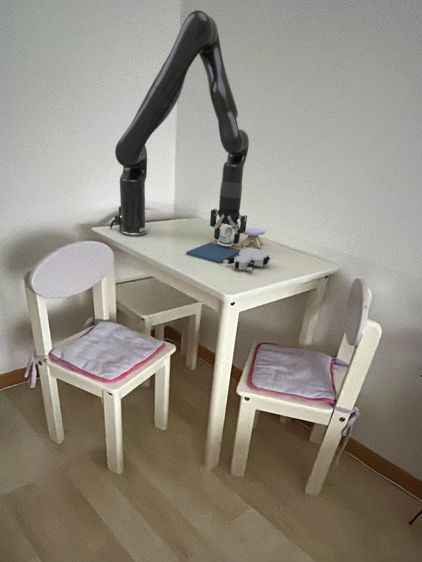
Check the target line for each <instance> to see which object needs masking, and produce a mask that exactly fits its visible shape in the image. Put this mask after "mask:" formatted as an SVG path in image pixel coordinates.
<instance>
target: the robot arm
mask: <svg viewBox="0 0 422 562" xmlns="http://www.w3.org/2000/svg"><path fill="white" fill-rule="evenodd" d="M222 53H223V52H222V48H221V42H220V35H219V29H218V25H217V23H216V21H215V20H214V19H213V18H212V16H210V15H208V13H206V12H205V11H203V10H199V9H196V10H192V11H191V12H190V13H189V14H188V15H187V16H186V17H185V19H184V20H183V23H182V24H181V28H180V29H179V32H178V34H177V36H176V39H175V41H174V43H173V46H172V48H171V50H170V52H169V54H168V55H167V57H166V59H165V61H164V62H163V64H162V66H161V68H160V69H159V72H157V75H156V76H155V77H154V80H153V81H152V83H151V85H150V87H149V89H148V91H147V92H146V94H145V96H144V97H143V100H142V102H141V104H140V106H139V108H138V109H137V112H136V113H135V116H134V117H133V119H132V121H131V123H130V124H129V126H128V127H127V128H126V130H125V132H124V133H123V134H122V136H121V137H120V138H119V140H118V141H117V142H116V145H115V150H114V155H115V159H116V161H117V163H118V164H119V165H121V166H122V173H121V175H120V177H119V198H120V199H119V201H120V205H119V206H118V214H116V215H114V219H112V221H111V222H110V225H109V228H110V229H112V228H113V225H114V224H116V225H119V227H118V228H119V232H120V233H121V234H122V235H126V236H129V237H141V236H144V235H146V231H147V230H146V180H147V175H148V151H147V147H146V144H147V142H148V140H149V139H150V137H151V136H152V135H153V133H154V132H155V131H156V130H157V129H158V128H159V127H160V126H161V125H162V124H163V123H164V122H165V121H166V120H167V118H168V117H169V115H170V114H171V112H172V111H173V110H174V108H175V106H176V105H177V103H178V101H179V99H180V96H181V94H182V91H183V88H184V84H185V82H186V81H185V80H186V76H187V74H188V72H189V69H190V67H191V66H192V64H193V63H194V61H195V59H196V58H197V56H199V58H200V60H201V62H202V64H203V68H204V70H205V74H206V79H207V86H208V92H209V97H210V101H211V104H212V108H213V111H214V114H215V117H216V119H217V125H218V132H219V133H218V134H219V139H220V143H221V146H222V148H223V150H224V151H225V152H226V153H227V159H226V161H225V162H224V163H223V166H222V174H221V175H222V176H221V183H220V189H219V201H218V207H219V209H217V208H213V209H211V210H210V219H209V227H212V228H213V229H214V233H213V234H214V235H213V237H214V241H215V240H216V241H219V236H221V227H222V225H227V226H231V228H232V230H233V232H234V234H233V241H234V242H233V243H232V245H237V244H238V243H239V242H240V237H241V234H243V233H244V232H245V230H246V229H247V221H248V216H247V215H246V214H245V215H242V214H240V209H241V203H242V193H243V176H244V166H245V163H246V160H247V156H248V153H249V148H250V139H249V138H250V137H249V135H248V133H247V132H246V131H245V130H244V129H240V128H239V124H238V120H237V119H238V117H239V112H238V108H237V104H236V101H235V98H234V95H233V91H232V88H231V85H230V82H229V79H228V75H227V72H226V68H225V63H224V58H223V54H222ZM217 216H218V217H219V219H218V217H217ZM217 219H218V220H217ZM238 220H239V221H238ZM239 222H240V223H239Z"/></svg>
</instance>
